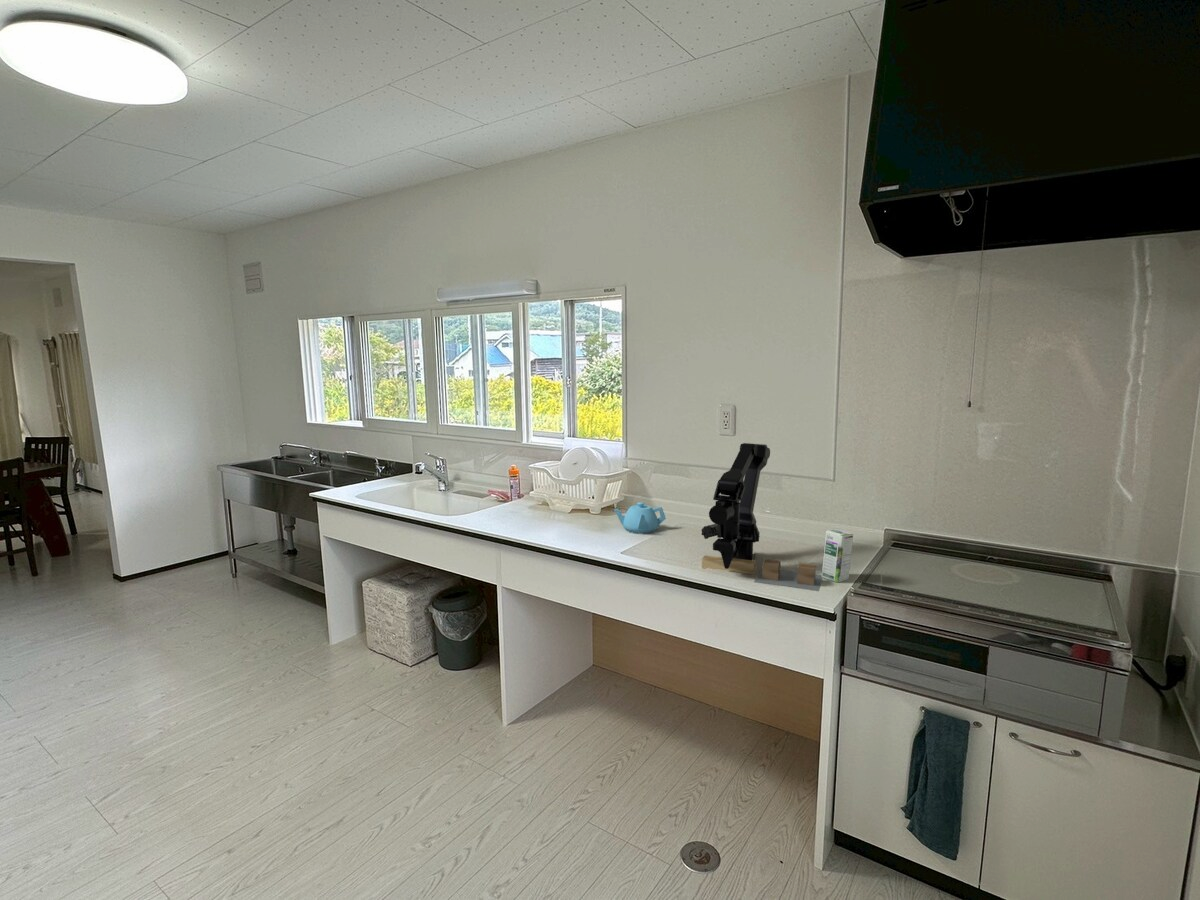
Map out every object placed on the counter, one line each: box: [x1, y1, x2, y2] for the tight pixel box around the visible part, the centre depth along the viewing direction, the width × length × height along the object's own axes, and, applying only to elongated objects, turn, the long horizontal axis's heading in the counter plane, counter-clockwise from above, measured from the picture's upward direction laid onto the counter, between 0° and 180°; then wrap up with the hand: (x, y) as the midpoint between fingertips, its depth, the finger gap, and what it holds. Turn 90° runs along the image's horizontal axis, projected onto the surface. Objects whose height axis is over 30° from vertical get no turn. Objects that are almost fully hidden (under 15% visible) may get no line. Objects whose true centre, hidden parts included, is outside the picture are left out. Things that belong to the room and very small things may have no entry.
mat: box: [754, 567, 823, 592], centre depth 183 cm, size 14×18×1 cm
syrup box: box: [821, 528, 854, 583], centre depth 182 cm, size 6×6×14 cm
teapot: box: [613, 501, 667, 534], centre depth 238 cm, size 15×15×11 cm
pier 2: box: [797, 562, 817, 586], centre depth 179 cm, size 4×4×5 cm
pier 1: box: [762, 558, 782, 581], centre depth 183 cm, size 4×4×5 cm
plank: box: [701, 554, 757, 575], centre depth 192 cm, size 4×16×4 cm, turn 67°
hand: (728, 565), depth 192 cm, fingers open, 6 cm apart
